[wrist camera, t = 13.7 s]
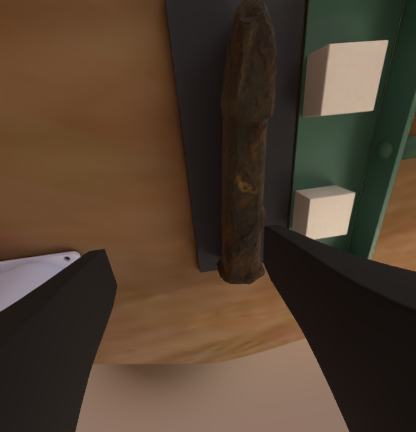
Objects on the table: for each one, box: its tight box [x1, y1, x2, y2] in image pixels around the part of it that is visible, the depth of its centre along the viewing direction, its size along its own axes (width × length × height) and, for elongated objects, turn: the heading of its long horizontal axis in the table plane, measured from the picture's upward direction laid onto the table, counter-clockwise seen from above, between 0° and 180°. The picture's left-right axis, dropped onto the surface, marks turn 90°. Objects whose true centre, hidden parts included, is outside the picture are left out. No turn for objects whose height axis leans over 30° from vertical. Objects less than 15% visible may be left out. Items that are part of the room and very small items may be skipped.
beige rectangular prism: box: [302, 40, 388, 117], centre depth 15 cm, size 4×4×2 cm
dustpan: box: [288, 0, 416, 260], centre depth 18 cm, size 16×23×3 cm
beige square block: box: [292, 185, 355, 239], centre depth 19 cm, size 4×4×2 cm
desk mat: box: [165, 0, 305, 273], centre depth 17 cm, size 9×21×1 cm, turn 5°
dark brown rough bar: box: [216, 0, 277, 284], centre depth 15 cm, size 19×4×5 cm, turn 0°
